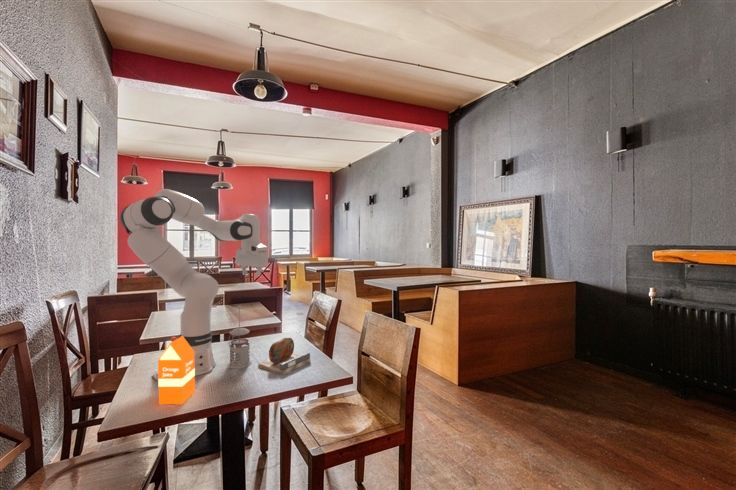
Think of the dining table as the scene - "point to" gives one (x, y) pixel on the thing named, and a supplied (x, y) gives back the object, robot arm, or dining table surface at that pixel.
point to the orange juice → (176, 373)
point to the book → (276, 367)
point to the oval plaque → (281, 350)
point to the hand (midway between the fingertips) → (251, 275)
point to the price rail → (294, 361)
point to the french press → (239, 348)
